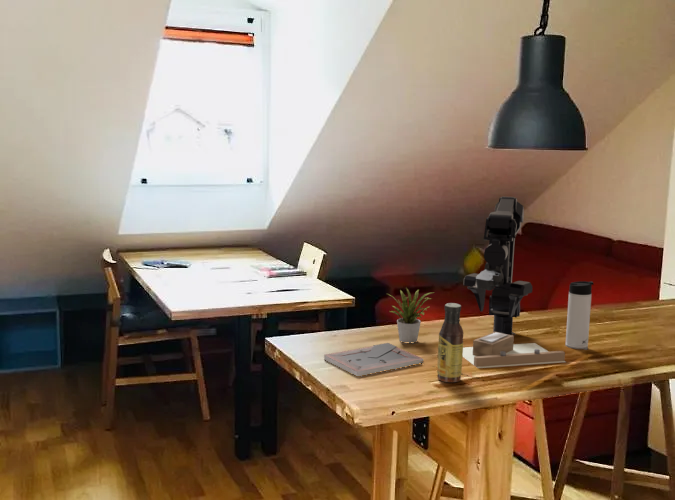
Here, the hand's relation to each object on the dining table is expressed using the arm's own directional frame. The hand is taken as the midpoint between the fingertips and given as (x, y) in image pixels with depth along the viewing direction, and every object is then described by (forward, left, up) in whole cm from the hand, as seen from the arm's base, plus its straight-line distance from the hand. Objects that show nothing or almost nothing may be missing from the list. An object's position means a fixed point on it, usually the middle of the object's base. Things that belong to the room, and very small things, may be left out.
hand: (495, 314), depth 218 cm
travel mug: (-1, +27, -12) cm, 30 cm away
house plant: (-17, -18, -12) cm, 28 cm away
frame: (0, 0, -11) cm, 11 cm away
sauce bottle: (+17, -20, -12) cm, 29 cm away
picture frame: (-1, -35, -13) cm, 37 cm away
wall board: (+3, +3, -12) cm, 13 cm away
